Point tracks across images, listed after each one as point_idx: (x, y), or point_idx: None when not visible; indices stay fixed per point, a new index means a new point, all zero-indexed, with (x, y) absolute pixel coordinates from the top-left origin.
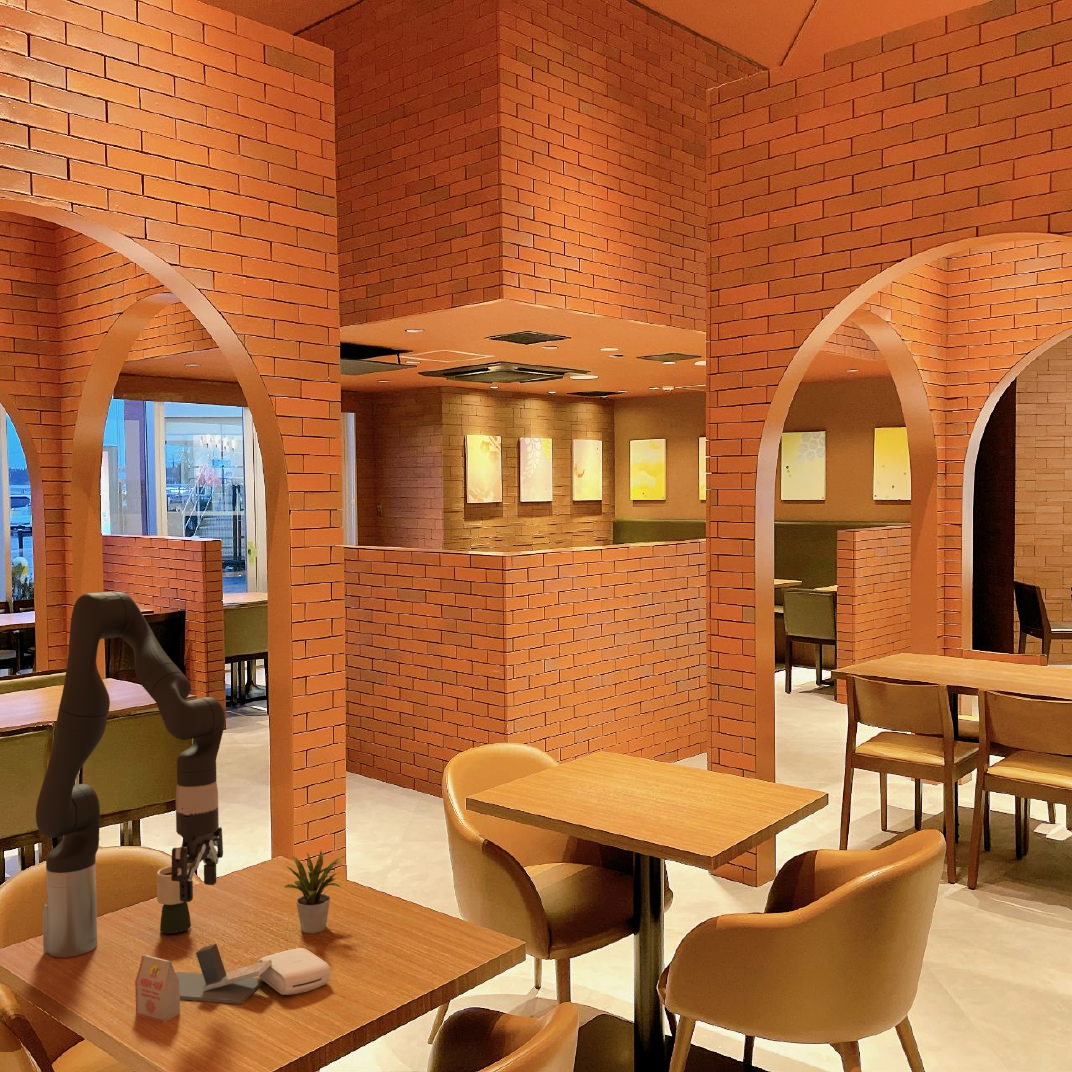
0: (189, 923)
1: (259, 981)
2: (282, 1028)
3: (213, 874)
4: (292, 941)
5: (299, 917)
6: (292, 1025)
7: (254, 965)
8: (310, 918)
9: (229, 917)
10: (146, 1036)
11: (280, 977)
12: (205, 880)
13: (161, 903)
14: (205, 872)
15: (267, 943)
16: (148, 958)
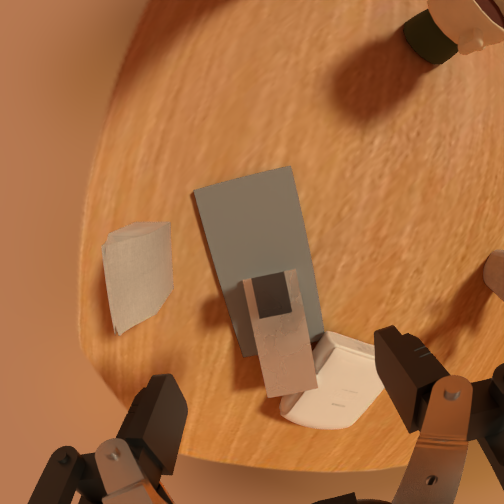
0: (443, 61)
1: (314, 339)
2: (215, 425)
3: (392, 399)
4: (459, 271)
5: (501, 261)
6: (227, 430)
7: (305, 361)
8: (496, 288)
9: (490, 105)
10: (103, 292)
11: (288, 407)
12: (381, 343)
13: (428, 6)
14: (399, 368)
15: (448, 236)
16: (104, 268)
